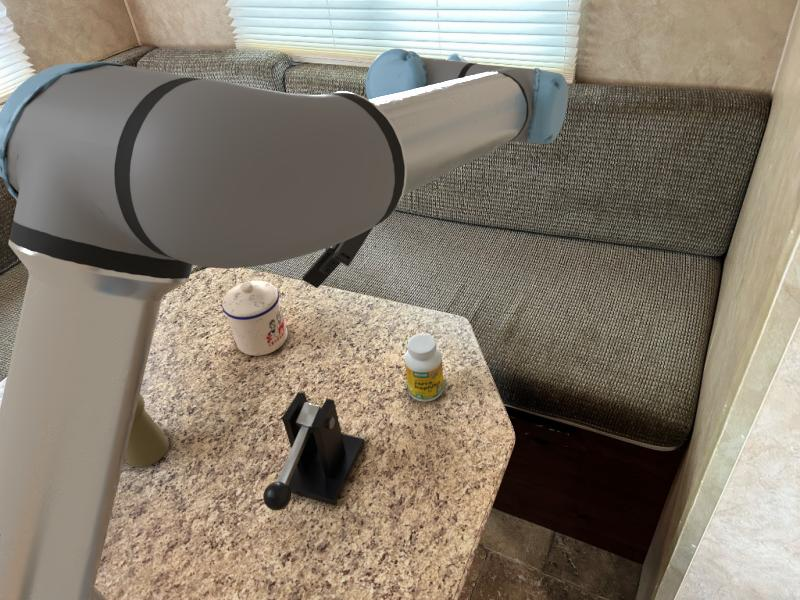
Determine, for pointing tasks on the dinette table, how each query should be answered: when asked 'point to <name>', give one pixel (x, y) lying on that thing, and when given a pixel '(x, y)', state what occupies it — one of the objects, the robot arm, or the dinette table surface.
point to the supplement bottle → (424, 368)
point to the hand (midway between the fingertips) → (310, 256)
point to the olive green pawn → (145, 439)
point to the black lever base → (321, 453)
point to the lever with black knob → (291, 461)
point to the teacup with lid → (255, 317)
